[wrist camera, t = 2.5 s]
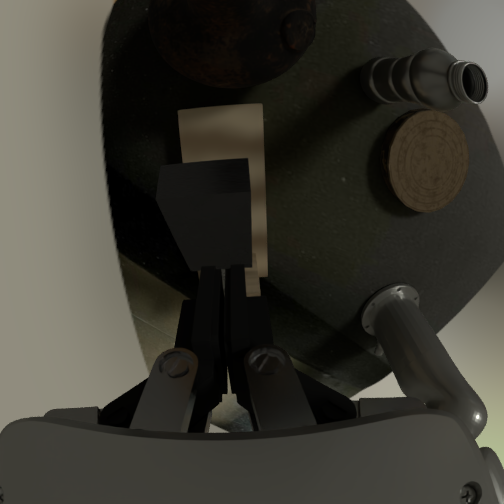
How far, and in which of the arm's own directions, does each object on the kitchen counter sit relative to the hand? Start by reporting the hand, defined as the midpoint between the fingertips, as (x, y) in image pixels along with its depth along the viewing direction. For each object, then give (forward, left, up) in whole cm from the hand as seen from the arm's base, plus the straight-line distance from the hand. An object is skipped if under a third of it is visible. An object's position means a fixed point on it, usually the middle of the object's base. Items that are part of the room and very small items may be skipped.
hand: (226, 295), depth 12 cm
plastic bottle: (+11, -20, -30) cm, 37 cm away
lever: (-5, +1, -14) cm, 15 cm away
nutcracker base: (-5, +1, -30) cm, 30 cm away
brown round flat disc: (0, -29, -30) cm, 42 cm away
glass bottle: (+18, -1, -30) cm, 35 cm away
